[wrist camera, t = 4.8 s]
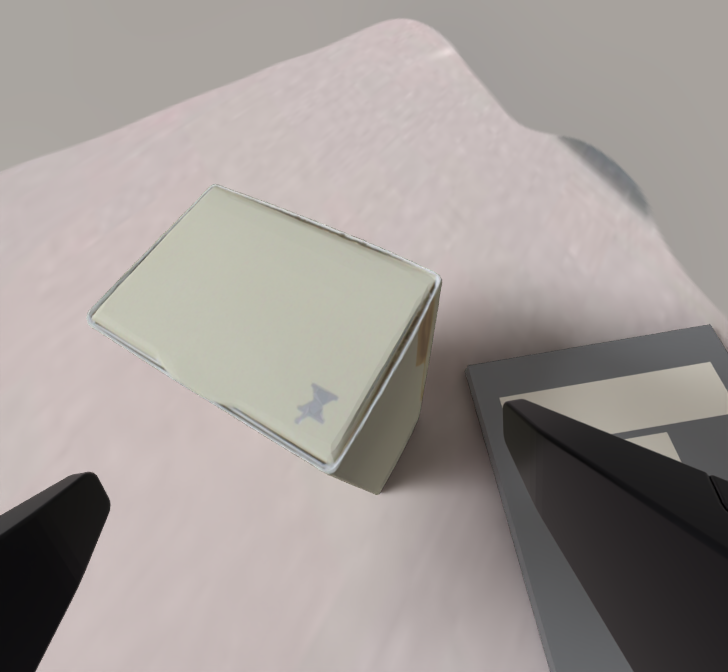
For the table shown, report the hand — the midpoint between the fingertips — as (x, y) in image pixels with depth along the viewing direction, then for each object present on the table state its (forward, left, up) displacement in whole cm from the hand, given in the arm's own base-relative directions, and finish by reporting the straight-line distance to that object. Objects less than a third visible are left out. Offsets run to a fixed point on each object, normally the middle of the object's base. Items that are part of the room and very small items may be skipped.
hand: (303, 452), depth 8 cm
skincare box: (+3, 0, -10) cm, 10 cm away
